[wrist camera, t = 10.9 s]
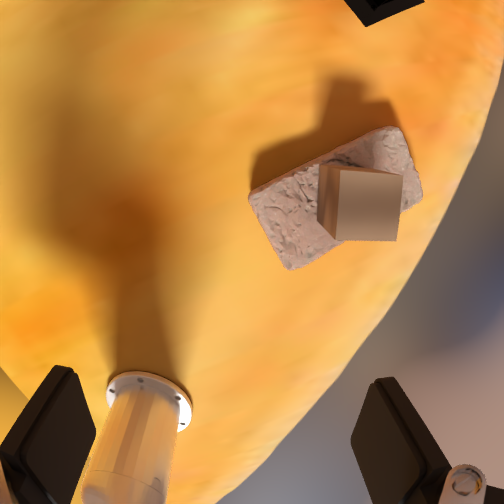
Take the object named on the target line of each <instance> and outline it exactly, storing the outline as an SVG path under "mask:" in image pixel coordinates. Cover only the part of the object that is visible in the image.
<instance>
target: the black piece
mask: <svg viewBox="0 0 504 504" xmlns="http://www.w3.org/2000/svg"><path fill="white" fill-rule="evenodd" d="M344 1H345V2H346V4H347V5H348V6H349V7H350V8H351V10H352V11H353V12H354V13H355V14H356V16H357V17H358V18H359V20H360V21H361V22H362V23H363V25H364V26H365V27H368V26H370V25H372V24H374V23H377V22H379V21H381V20H383V19H385V18H388V17H390V16H392V15H394V14H397V13H399V12H401V11H404V10H406V9H409V8H411V7H414V6H416V5H419V4H421V3H424V2H425V1H424V0H344Z"/></svg>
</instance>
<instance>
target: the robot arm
mask: <svg viewBox="0 0 504 504" xmlns="http://www.w3.org/2000/svg"><path fill="white" fill-rule="evenodd" d="M106 400H107V403H108V406H109V407H110V411H109V414H108V416H107V419H106V421H105V424H104V426H103V429H102V431H101V434H100V436H99V439H98V441H97V444H96V446H95V449H94V452H93V454H92V457H91V460H90V462H89V465H88V468H87V471H86V474H85V476H84V479H83V482H82V485H81V498H82V502H83V504H166V500H167V493H168V487H169V480H170V474H171V468H172V462H173V456H174V450H175V445H176V439H177V433H178V432H179V431H181V430H183V429H184V428H186V427H187V426H188V424H189V423H190V421H191V418H192V404H191V402H190V400H189V398H188V397H187V395H186V394H185V393H184V392H183V391H182V390H181V389H180V388H179V387H178V386H177V385H175V384H174V383H173V382H171V381H169V380H167V379H165V378H163V377H161V376H158V375H155V374H151V373H148V372H140V371H130V372H125V373H122V374H119V375H117V376H116V377H114V378H113V379H112V380H111V382H110V383H109V385H108V387H107V390H106ZM95 437H96V428H95V425H94V422H93V420H92V417H91V414H90V411H89V408H88V405H87V402H86V399H85V396H84V393H83V390H82V387H81V384H80V380H79V377H78V375H77V373H74V371H73V369H72V368H70V367H65V366H60V365H55V366H54V367H53V368H52V369H51V371H50V372H49V373H48V375H47V376H46V378H45V379H44V380H43V382H42V383H41V385H40V386H39V388H38V389H37V390H36V392H35V393H34V395H33V396H32V398H31V399H30V401H29V402H28V404H27V405H26V406H25V408H24V409H23V411H22V413H21V414H20V415H19V417H18V418H17V420H16V422H15V423H14V425H13V426H12V428H11V429H10V431H9V433H8V434H7V436H6V437H5V439H4V441H3V442H2V444H1V445H0V504H70V503H71V500H72V497H73V495H74V492H75V489H76V486H77V484H78V481H79V478H80V476H81V473H82V470H83V467H84V465H85V462H86V460H87V457H88V455H89V452H90V450H91V447H92V444H93V442H94V440H95ZM351 446H352V449H353V451H354V454H355V457H356V459H357V462H358V465H359V467H360V470H361V473H362V476H363V478H364V481H365V484H366V486H367V489H368V492H369V495H370V497H371V500H372V503H373V504H504V489H500V488H496V487H492V486H488V485H486V479H485V475H484V474H483V473H482V471H481V470H480V469H478V468H477V467H475V466H472V465H468V464H462V465H458V466H456V467H454V468H452V467H451V465H450V464H449V462H448V460H447V459H446V457H445V455H444V454H443V452H442V451H441V449H440V447H439V446H438V444H437V443H436V441H435V439H434V438H433V436H432V434H431V433H430V431H429V430H428V428H427V426H426V425H425V423H424V422H423V420H422V419H421V417H420V415H419V414H418V413H417V411H416V409H415V408H414V406H413V405H412V403H411V402H410V400H409V399H408V397H407V396H406V394H405V392H404V391H403V389H402V388H401V386H400V385H399V383H398V382H397V380H396V379H395V378H394V377H385V378H378V379H376V380H375V381H374V383H372V384H370V386H369V389H368V392H367V395H366V398H365V401H364V404H363V406H362V409H361V412H360V415H359V418H358V420H357V423H356V426H355V428H354V430H353V433H352V435H351Z"/></svg>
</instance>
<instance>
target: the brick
mask: <svg viewBox="0 0 504 504" xmlns="http://www.w3.org/2000/svg"><path fill="white" fill-rule="evenodd" d="M320 164H322V165H337V166H351V167H363V168H373V169H377V170H382V171H386V172H390V173H395V174H399V175H403V188H402V198H401V208H400V213H401V212H404V211H407V210H408V209H410V208H411V207H412V206H413V205H415V204H418V203H419V202H420V201H421V200H422V197H423V191H422V187H421V181H420V180H419V173H418V172H417V171H416V169H415V166H414V164H413V160H412V158H411V156H410V154H409V150H408V145H407V143H406V141H405V139H404V136H403V133H402V131H401V130H400V129H399V128H398V127H394V126H384V127H382V128H377V129H375V130H372V131H370V132H368V133H366V134H364V135H362V136H360V137H359V138H357V139H355V140H352V141H351V142H349V143H346V144H344V145H341V146H338V147H336V148H335V149H334V150H333V151H330V152H328V153H326V154H323V155H321V156H319V157H317V158H315V159H313V160H311V161H308V162H306V163H305V164H302V165H301V166H299V167H296V168H294V169H292V170H291V171H289V172H287V173H285V174H283V175H281V176H279V177H277V178H275V179H273V180H271V181H269V182H267V183H266V184H264V185H261V186H259V187H257V188H255V189H254V190H252V191H251V192H250V193H249V195H248V201H249V203H250V205H251V206H252V209H253V211H254V213H255V214H256V216H257V218H258V221H259V223H260V224H261V226H262V228H263V230H264V231H265V233H266V235H267V237H268V239H269V241H270V243H271V245H272V247H273V249H274V250H275V252H276V253H277V255H278V257H279V259H280V260H281V262H282V264H283V266H284V267H285V268H286V269H287V270H294V269H297V268H302V267H304V266H306V265H307V264H309V263H311V262H312V261H314V260H316V259H318V258H319V257H321V256H322V255H324V254H325V253H327V252H328V251H330V250H331V249H333V248H334V247H336V246H338V245H340V244H342V243H343V242H344V241H345V240H335V239H334V238H333V237H332V236H331V235H330V234H329V233H328V232H327V231H326V230H325V229H324V228H323V227H322V226H321V225H320V224H319V223H318V222H317V206H318V189H319V168H320Z"/></svg>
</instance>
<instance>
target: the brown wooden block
mask: <svg viewBox="0 0 504 504" xmlns="http://www.w3.org/2000/svg"><path fill="white" fill-rule="evenodd" d="M402 188H403V175H399V174H395V173H390V172H386V171H382V170H377V169H373V168H363V167H351V166H337V165H322V164H320V168H319V189H318V206H317V222H318V223H319V224H320V225H321V226H322V227H323V228H324V229H325V230H326V231H327V232H328V233H329V234H330V235H331V236H332V237H333V238H334V239H335V240H352V241H396V239H397V232H398V225H399V217H400V208H401V198H402Z"/></svg>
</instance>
